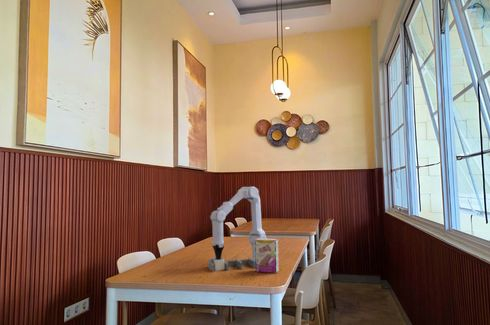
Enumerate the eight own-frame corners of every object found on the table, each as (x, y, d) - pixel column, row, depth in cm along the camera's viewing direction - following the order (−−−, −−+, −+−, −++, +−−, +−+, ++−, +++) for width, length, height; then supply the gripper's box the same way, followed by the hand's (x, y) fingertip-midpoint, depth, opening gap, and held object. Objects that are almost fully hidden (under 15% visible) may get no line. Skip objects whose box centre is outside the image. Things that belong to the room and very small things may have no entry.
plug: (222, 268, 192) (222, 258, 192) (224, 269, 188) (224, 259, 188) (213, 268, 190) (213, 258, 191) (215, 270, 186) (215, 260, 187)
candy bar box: (255, 272, 180) (254, 239, 181) (258, 270, 185) (257, 238, 186) (276, 273, 177) (275, 240, 178) (279, 271, 181) (278, 238, 182)
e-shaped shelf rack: (249, 263, 201) (248, 254, 202) (255, 268, 189) (255, 258, 190) (208, 267, 195) (208, 257, 195) (212, 271, 183) (212, 262, 183)
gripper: (208, 232, 196) (208, 257, 195) (213, 235, 182) (213, 262, 181) (220, 231, 198) (221, 256, 197) (226, 234, 184) (227, 261, 183)
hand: (218, 259), depth 189 cm, fingers closed
